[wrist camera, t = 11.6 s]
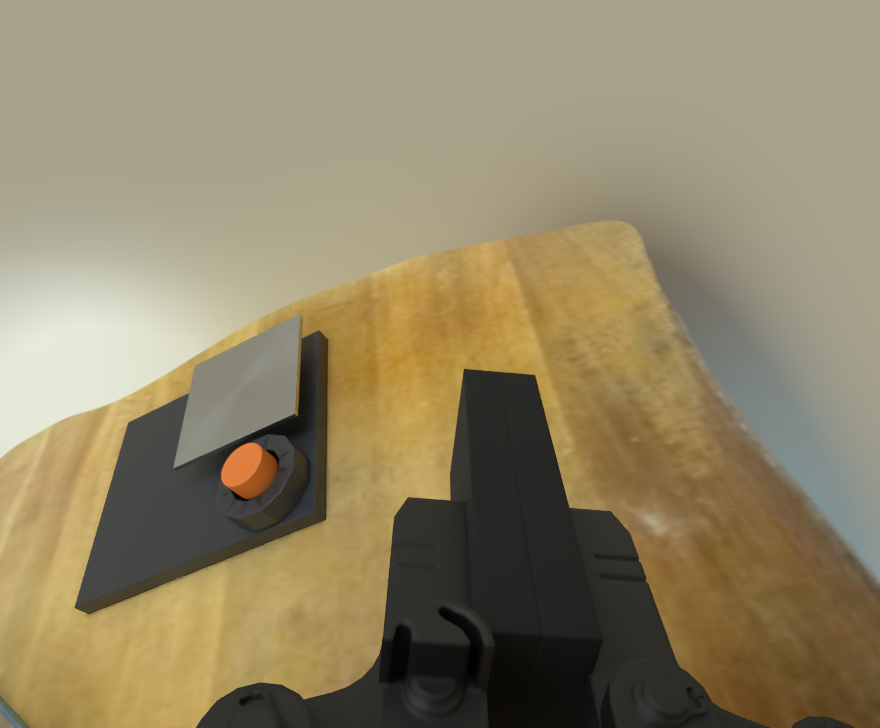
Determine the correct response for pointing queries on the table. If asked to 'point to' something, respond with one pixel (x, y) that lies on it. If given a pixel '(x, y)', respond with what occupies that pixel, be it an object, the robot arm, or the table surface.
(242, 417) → the plate
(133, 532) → the scale
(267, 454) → the button
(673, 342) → the table surface
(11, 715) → the book
